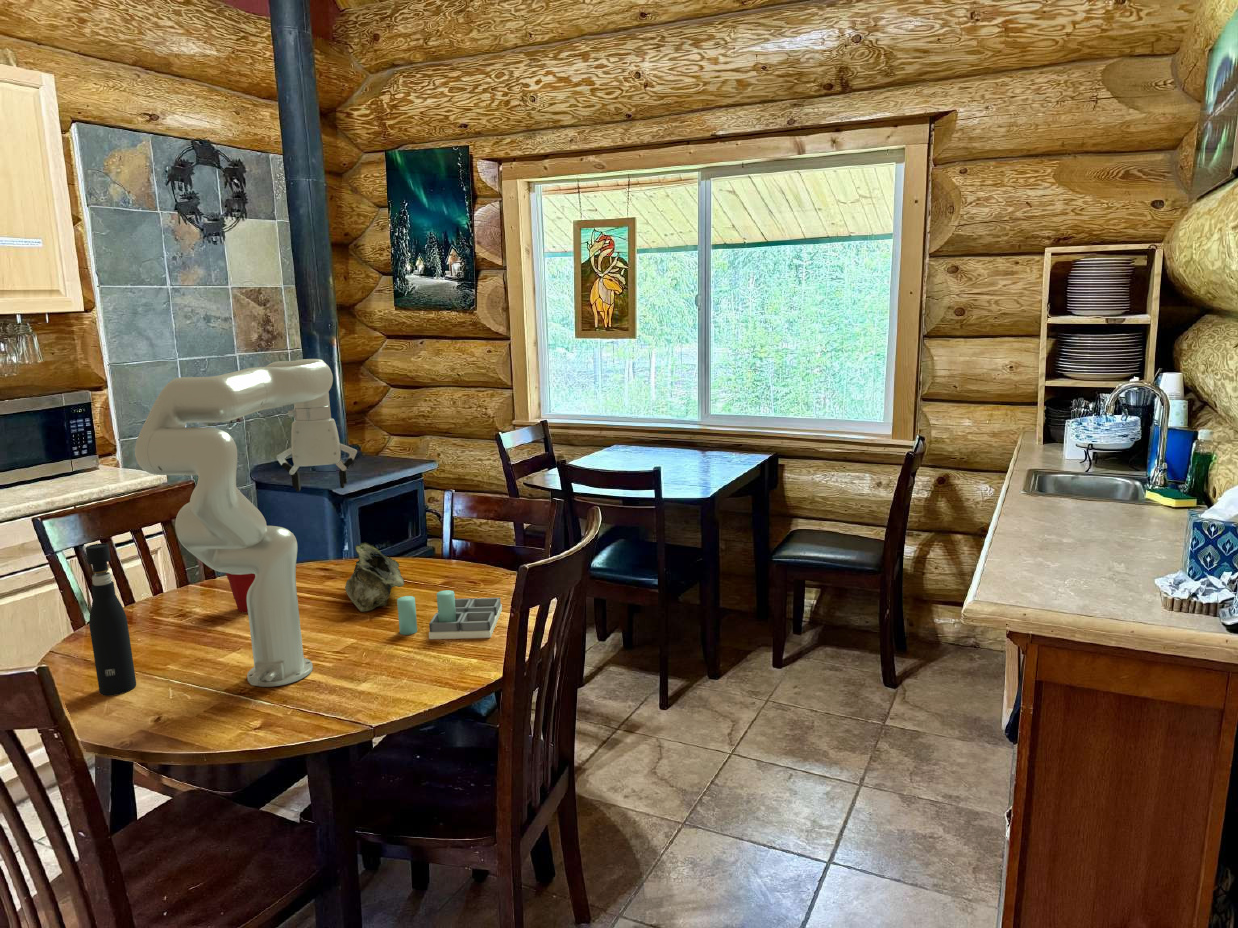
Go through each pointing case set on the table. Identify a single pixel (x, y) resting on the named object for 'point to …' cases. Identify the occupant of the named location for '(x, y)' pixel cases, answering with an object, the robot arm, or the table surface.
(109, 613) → the black water bottle
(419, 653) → the table surface
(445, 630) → the pin board
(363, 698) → the table surface
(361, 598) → the hollow geode rock
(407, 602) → the teal peg
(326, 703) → the table surface
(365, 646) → the table surface
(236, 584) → the plastic cup
